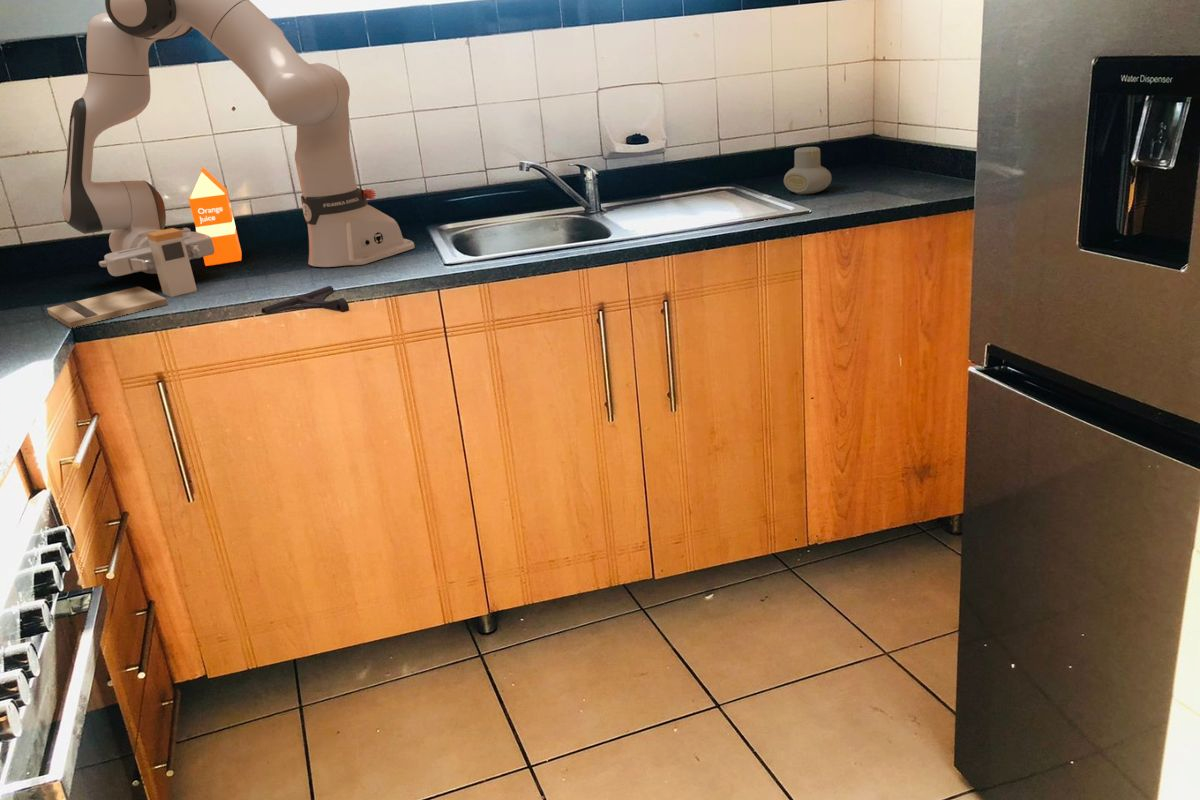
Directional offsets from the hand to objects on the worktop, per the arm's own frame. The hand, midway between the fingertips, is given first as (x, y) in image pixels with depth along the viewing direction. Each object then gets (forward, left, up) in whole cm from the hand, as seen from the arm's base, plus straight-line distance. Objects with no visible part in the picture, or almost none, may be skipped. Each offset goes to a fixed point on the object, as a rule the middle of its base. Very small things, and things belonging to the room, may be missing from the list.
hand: (172, 259), depth 184 cm
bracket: (-12, +36, -8) cm, 39 cm away
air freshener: (-128, +54, -7) cm, 139 cm away
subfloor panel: (+14, -1, -7) cm, 15 cm away
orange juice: (-17, -22, -7) cm, 28 cm away
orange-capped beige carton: (0, -1, -7) cm, 7 cm away
